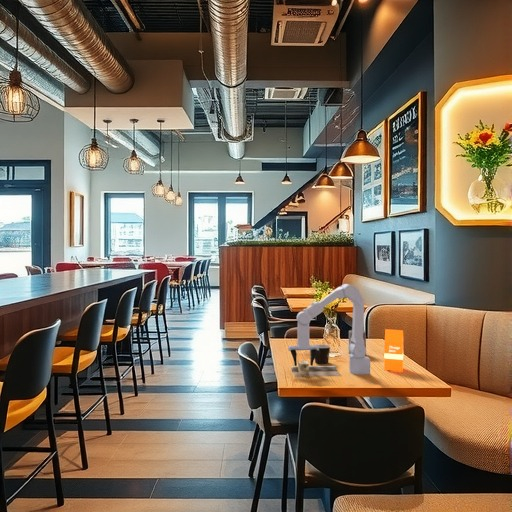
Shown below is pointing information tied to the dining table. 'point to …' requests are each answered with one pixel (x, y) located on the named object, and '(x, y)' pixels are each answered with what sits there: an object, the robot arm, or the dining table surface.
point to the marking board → (317, 371)
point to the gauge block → (303, 367)
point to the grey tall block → (363, 337)
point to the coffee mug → (322, 354)
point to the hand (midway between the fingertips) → (303, 365)
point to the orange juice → (393, 350)
